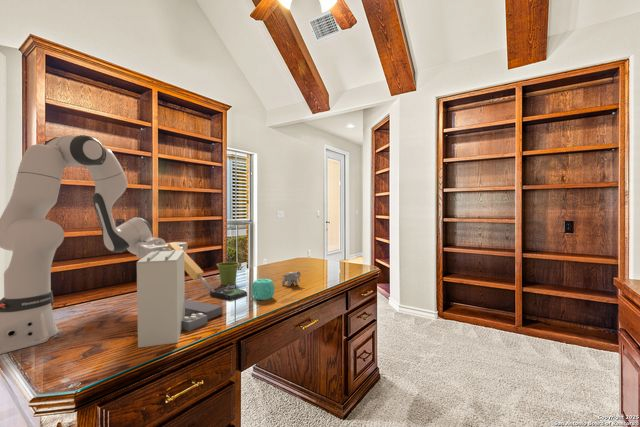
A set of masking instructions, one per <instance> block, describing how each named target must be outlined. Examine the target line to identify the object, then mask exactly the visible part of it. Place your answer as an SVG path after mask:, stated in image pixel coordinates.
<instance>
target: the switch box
mask: <svg viewBox="0 0 640 427" xmlns="http://www.w3.org/2000/svg"><path fill="white" fill-rule="evenodd" d="M206 324H207V325H208V320H207V315H204V314H203V313H196V314H191V316H185V317H184V318H183V319H182V330H183V331H187V332H191V331H194V330H195V329H198V328H200V327H202V326H204V325H206Z"/></svg>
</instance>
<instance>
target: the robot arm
mask: <svg viewBox="0 0 640 427" xmlns="http://www.w3.org/2000/svg"><path fill="white" fill-rule="evenodd" d="M66 167H75V168H77V167H85V168H86V169H87V170H88V173H89V174H90V176H91V179H93V183H94V188H95V191H94V195H93V196H92V202H93V208H94V211H95V214H96V216H97V220H98V223H99V227H100V231H101V236H102V242H103V245H104V246H105V248H106V249H107V250H108V251H109V252H113V253H124V252H125V251H126V250H127V251H128V252H129V253H131V254H133V255H136V258H139V259H142V258H143V257H145V256H146V255H148V254H149V253H151V252H156V251H159V252H160V251H172V250H173V249H171V248H170V249H167V246H168V244H169V243H174V242H176V243H177V244H178V245H179V246H180V247H181V248H182V249H183V250H184V252H187V251H188V246H189V245H188V242H184V241H172V242H166V240H165V239H163V238H162V237H154V236H153V228H152V226H151V224H150V223H149V221H148V220H147V219H144V218H142V217H139V216H134V217H133V218H131V219H129V220H127V221H125V222H123V223H122V224H120V225H118V226H116V223H115V219H114V216H113V213H112V212H113V211H112V209H113V207H114V206H113V205H114V204H115V203H116V201H117V200H118V199H119V198H120V197H121V196H122V195H123V194H124V193H125V192H126V189H127V187H128V183H129V182H128V178H127V176H126V173H125V171H124V169H123V167H122V165H121V164H120V162H119V160H118V159H117V157H116V155H115V154H114V153H113V151H112V150H110V149H109V148H107V147H104V145H103V144H102V143H101V142H100V141H99V140H98V139H97V138H95V137H93V136H90V135H71V134H70V135H69V134H68V135H63V136H56V137H52V138H50V139H48V140H47V141H45V142H44V144H43V143H41V144H40V143H37V144H32V145H30V146H29V147H28V148H27V149H26V151H25V152H24V153H23V156H22V158H21V161H20V163H19V166H18V169H17V172H16V177H15V181H14V185H13V189H12V193H11V196H10V199H9V201H8V203H7V205H6V207H5V209H4V210H3V212H2V213H1V215H0V249H3V250H6V251H11V252H12V256H11V259H10V262H9V265H8V267H7V268H6V269H5V271H4V273H3V294H4V296H3V297H2V298H0V355H2V354H5V353H10V352H13V351H17V350H20V349H24V348H28V347H32V346H36V345H40V344H44V343H46V342H48V340H49V339H50V338H51V337H53V336H56V335H57V333H58V332H59V328H58V327H57V325H56V321H55V317H54V313H53V307H54V294H53V290H52V289H51V288H52V285H51V284H52V281H51V278H52V277H51V276H52V275H51V274H52V265H53V260H54V258H55V255H56V252H57V249H58V248H59V247H60V246H61V245H62V243H63V242H64V240H65V239H64V238H65V231H64V229H63V227H62V226H61V225H60V224H58V223H57V222H55V221H52V220H50V219H47V218H46V217H47V216H48V213H49V212H50V210H51V209H52V208H53V207H54V206H55V205H56V204H57V202H58V198H59V193H60V188H61V184H62V179H63V172H64V170H65V168H66Z"/></svg>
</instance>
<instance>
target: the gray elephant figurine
mask: <svg viewBox="0 0 640 427" xmlns="http://www.w3.org/2000/svg"><path fill="white" fill-rule="evenodd" d="M282 277H283V279H282V281H281V285H282V286H285V284H286V282H287V284H286V286H287V287H288V288H290V287H291V284H292V283H293V284H294V285H295V286H298V284H299V283H301V279H300V277H301V272H300V271H296V272H295V271H294V272H293V271H290V272H287V273H285V274H283V275H282Z"/></svg>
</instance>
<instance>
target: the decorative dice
mask: <svg viewBox="0 0 640 427" xmlns="http://www.w3.org/2000/svg"><path fill="white" fill-rule="evenodd" d="M274 284H275V283H274V282H273V280H272V279H269V278H259V279H255V280H254V281H253V283H252V285H251V291H252V292H251V293H252V296H253V298H254V300H257V301H267V300H270V299H272V298H273V297H274V295H275V285H274Z"/></svg>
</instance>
